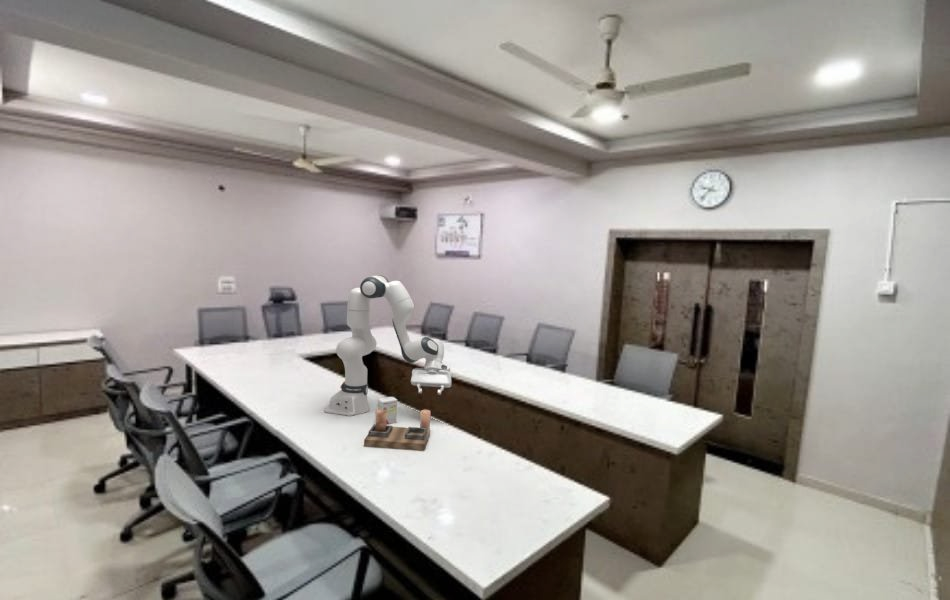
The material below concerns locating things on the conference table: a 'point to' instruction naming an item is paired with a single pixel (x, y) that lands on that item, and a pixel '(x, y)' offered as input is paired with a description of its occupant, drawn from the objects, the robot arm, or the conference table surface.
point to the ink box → (389, 408)
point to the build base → (395, 435)
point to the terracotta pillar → (425, 419)
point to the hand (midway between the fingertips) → (429, 393)
